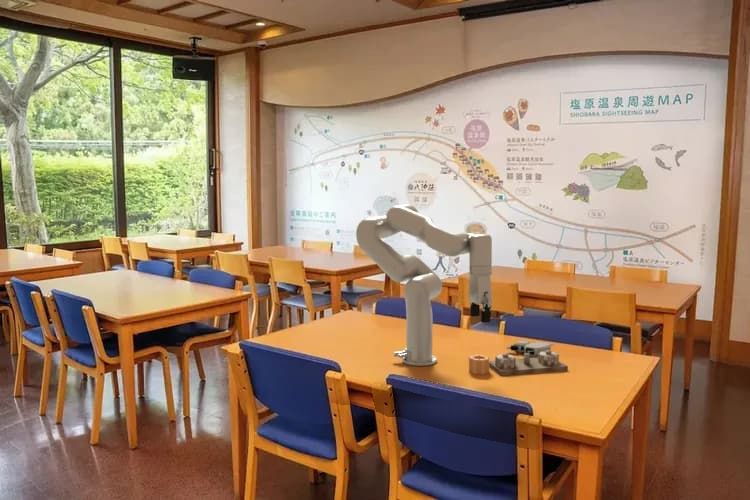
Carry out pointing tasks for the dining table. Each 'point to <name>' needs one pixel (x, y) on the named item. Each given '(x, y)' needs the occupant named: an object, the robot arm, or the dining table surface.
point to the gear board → (528, 367)
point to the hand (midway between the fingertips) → (480, 319)
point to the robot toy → (530, 347)
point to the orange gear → (479, 364)
